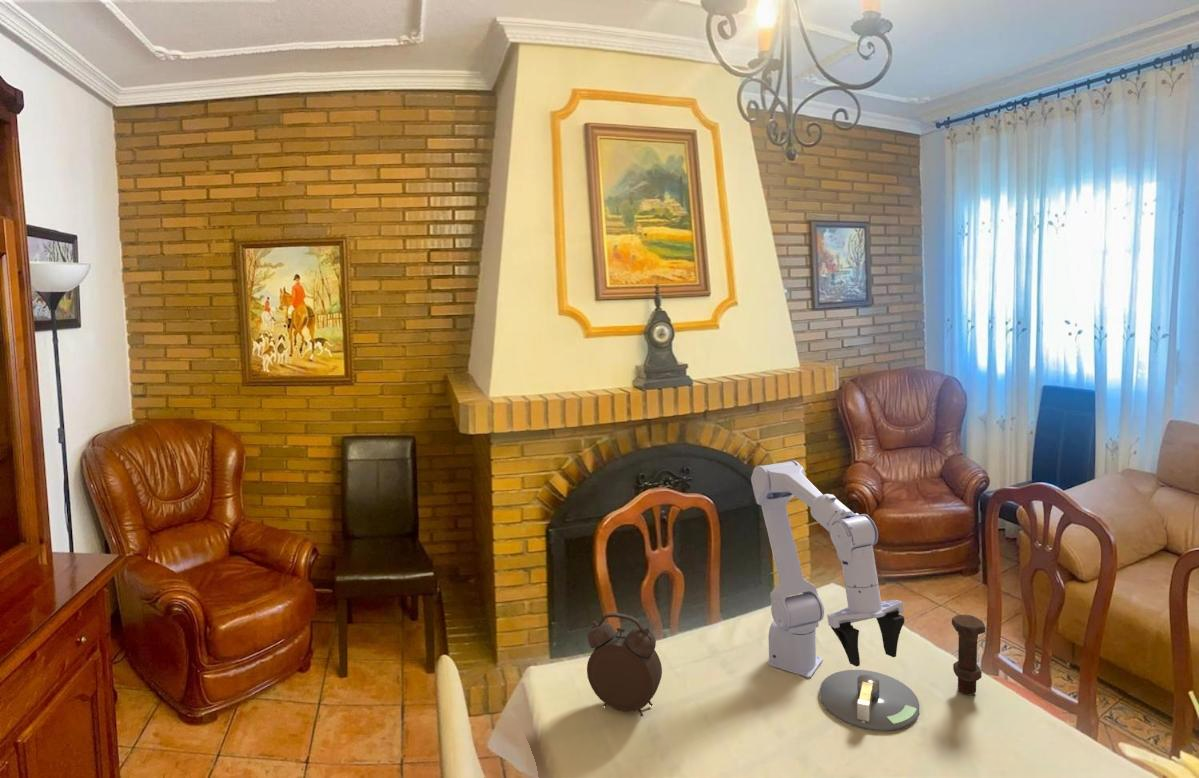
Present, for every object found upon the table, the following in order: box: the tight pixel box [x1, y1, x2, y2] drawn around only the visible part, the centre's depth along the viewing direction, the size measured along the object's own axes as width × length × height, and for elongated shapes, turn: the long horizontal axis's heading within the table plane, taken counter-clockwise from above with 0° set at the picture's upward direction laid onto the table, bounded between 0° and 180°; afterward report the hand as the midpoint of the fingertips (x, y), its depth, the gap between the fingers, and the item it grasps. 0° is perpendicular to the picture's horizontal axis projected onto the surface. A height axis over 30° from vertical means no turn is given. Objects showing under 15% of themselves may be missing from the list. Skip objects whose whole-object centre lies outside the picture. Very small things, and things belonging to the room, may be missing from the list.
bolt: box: [951, 614, 986, 695], centre depth 128 cm, size 6×5×15 cm
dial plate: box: [819, 669, 920, 733], centre depth 129 cm, size 18×18×1 cm
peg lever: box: [857, 675, 879, 722], centre depth 125 cm, size 11×4×3 cm, turn 152°
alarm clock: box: [586, 612, 663, 717], centre depth 130 cm, size 14×7×20 cm, turn 65°
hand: (873, 659), depth 118 cm, fingers open, 7 cm apart
